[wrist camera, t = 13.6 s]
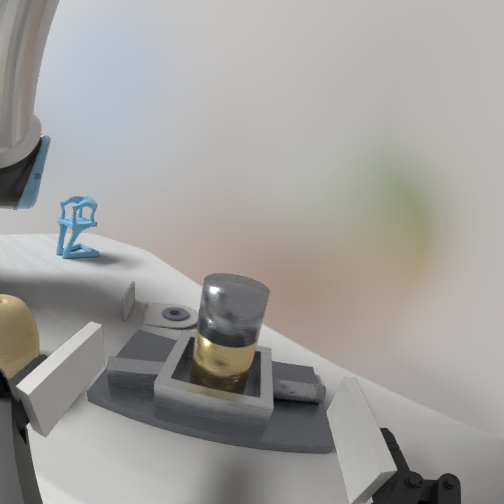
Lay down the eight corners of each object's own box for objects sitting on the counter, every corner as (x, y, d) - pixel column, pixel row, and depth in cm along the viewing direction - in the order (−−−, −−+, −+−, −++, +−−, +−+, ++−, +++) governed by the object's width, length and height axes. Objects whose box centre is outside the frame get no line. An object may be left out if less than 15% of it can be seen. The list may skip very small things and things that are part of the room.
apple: (-27, 395, 10) (-57, 303, 10) (2, 373, 17) (-20, 302, 17) (39, 381, 14) (7, 280, 14) (58, 359, 21) (35, 285, 21)
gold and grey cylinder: (183, 396, 21) (197, 288, 19) (195, 364, 26) (210, 269, 24) (242, 409, 21) (270, 304, 19) (245, 375, 26) (269, 281, 24)
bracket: (199, 335, 34) (202, 311, 33) (121, 323, 32) (122, 298, 31) (197, 312, 40) (201, 290, 40) (131, 302, 38) (132, 280, 37)
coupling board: (88, 400, 17) (82, 369, 17) (138, 337, 29) (139, 310, 28) (328, 453, 18) (345, 426, 17) (310, 374, 29) (319, 348, 29)
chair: (51, 251, 47) (54, 194, 44) (80, 246, 55) (84, 193, 52) (68, 262, 45) (72, 198, 42) (99, 256, 52) (105, 198, 50)
